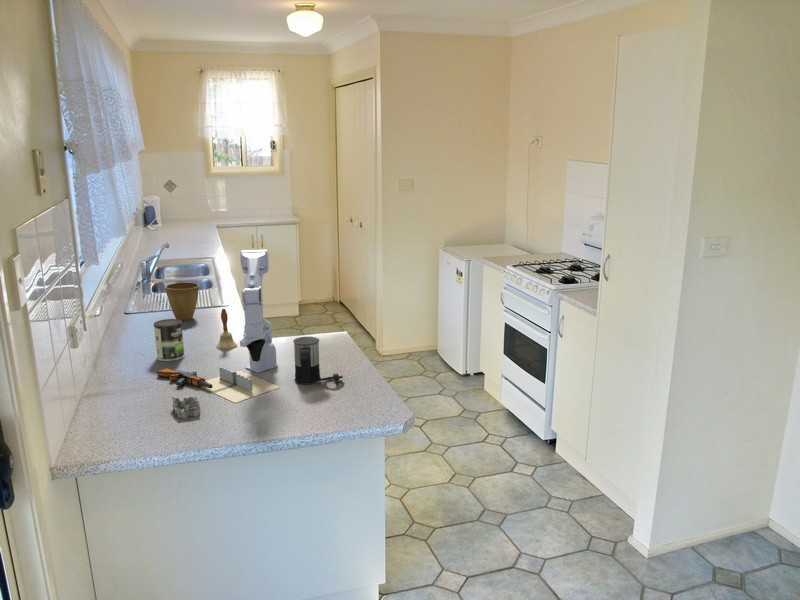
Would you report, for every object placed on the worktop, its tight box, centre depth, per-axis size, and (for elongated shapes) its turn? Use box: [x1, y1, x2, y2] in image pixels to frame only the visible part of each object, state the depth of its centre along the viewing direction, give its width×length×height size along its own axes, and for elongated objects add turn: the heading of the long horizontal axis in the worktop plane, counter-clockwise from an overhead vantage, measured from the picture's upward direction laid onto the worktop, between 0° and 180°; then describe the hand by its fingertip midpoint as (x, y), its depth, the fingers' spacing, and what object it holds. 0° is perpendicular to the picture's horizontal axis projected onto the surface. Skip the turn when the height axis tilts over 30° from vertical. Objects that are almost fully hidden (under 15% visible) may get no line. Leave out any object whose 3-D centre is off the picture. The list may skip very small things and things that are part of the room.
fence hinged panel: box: [233, 371, 253, 391], centre depth 224 cm, size 10×1×4 cm, turn 48°
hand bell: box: [215, 308, 238, 351], centre depth 267 cm, size 8×8×16 cm
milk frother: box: [292, 336, 344, 385], centre depth 230 cm, size 14×16×15 cm
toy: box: [156, 367, 213, 388], centre depth 230 cm, size 2×26×10 cm
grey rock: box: [171, 396, 201, 420], centre depth 206 cm, size 11×8×4 cm
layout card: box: [200, 370, 280, 404], centre depth 227 cm, size 18×24×1 cm
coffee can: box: [153, 318, 185, 362], centre depth 255 cm, size 10×10×14 cm
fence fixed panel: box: [218, 366, 234, 384], centre depth 230 cm, size 8×1×4 cm, turn 48°
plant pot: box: [165, 281, 200, 322], centre depth 307 cm, size 15×15×16 cm
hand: (256, 360), depth 224 cm, fingers closed
